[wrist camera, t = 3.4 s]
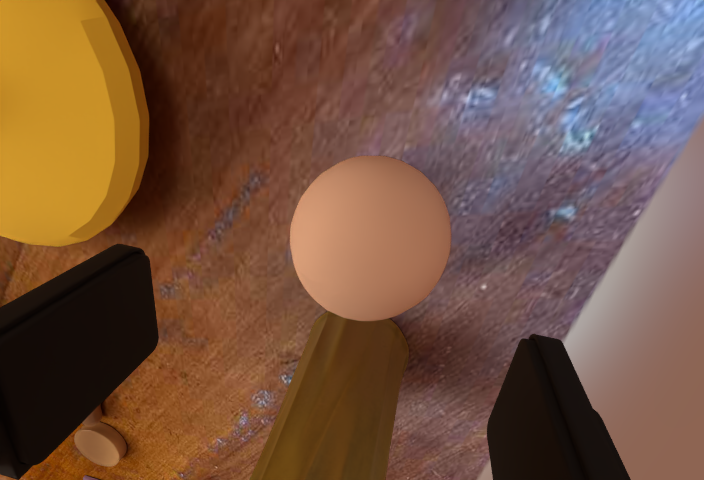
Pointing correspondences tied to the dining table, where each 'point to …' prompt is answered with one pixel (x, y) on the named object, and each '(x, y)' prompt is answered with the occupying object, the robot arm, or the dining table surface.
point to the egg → (370, 238)
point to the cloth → (89, 478)
